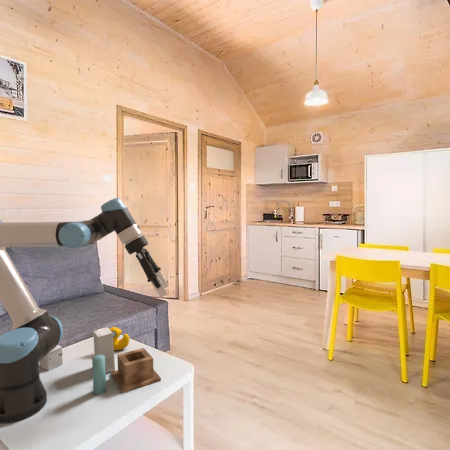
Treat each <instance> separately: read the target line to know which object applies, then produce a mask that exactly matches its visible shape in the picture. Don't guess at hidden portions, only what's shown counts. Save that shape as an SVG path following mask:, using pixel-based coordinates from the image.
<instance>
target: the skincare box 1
mask: <svg viewBox="0 0 450 450" xmlns="http://www.w3.org/2000/svg"><path fill="white" fill-rule="evenodd" d="M62 365H63V346H61V345H58V344H57V346H56V347H55V348H54V349H53V350H51V351H50V352H49V353H48V354H47V355H46V356H45V357H44V358H43V359H41V360H40V361H39V368H40V369H43V370H46V371H48V372H49V371H50V370H53V369H55V368H58V367H59V366H62Z"/></svg>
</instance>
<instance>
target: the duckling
mask: <svg viewBox="0 0 450 450" xmlns="http://www.w3.org/2000/svg"><path fill="white" fill-rule="evenodd" d="M109 329H110V330H111V332H112V333H113V347H114V352H116V351H120V350H122V349H125V348H126V347H128V346H129V344H130V335H129V334H128V333H124V334H123V336H122V338H121V339H120V336H121V334H122V331H123V330H122V329H120V328H118V327H116V326H113V327H110V328H109Z"/></svg>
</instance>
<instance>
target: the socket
mask: <svg viewBox="0 0 450 450" xmlns="http://www.w3.org/2000/svg"><path fill="white" fill-rule="evenodd" d="M116 355H117V370H115V371H112V372H110V375H111V377H112V379H113V381H114V382H115V384H116V386H117V387H118V389H119V391H120V393H122V394H123V393H126V392H130V391H133V390H136V389H138V388H141V387H145V386H149V385H151V384H154V383H157V382H160V381H162V377H160V375H159V374H158V373H157V371H156V370H155V369H154V358H153V356H152V355H151V354H150V353H149V352H148V351H147V350H146V348H144V347H142V348H139V349H134V350H130V351H126V352H122V353H118V354H116Z"/></svg>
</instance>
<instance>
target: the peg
mask: <svg viewBox="0 0 450 450" xmlns="http://www.w3.org/2000/svg"><path fill="white" fill-rule="evenodd" d="M91 358H92V359H91V363H92V364H91V365H92V367H91V369H92V392H93V395H95V396H102V395H103V394H105V393H106V391H107V384H106V382H107V381H106V380H107V379H106V373H105V356H104V355H96V356H95V355H94V356H93V357H91Z"/></svg>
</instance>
